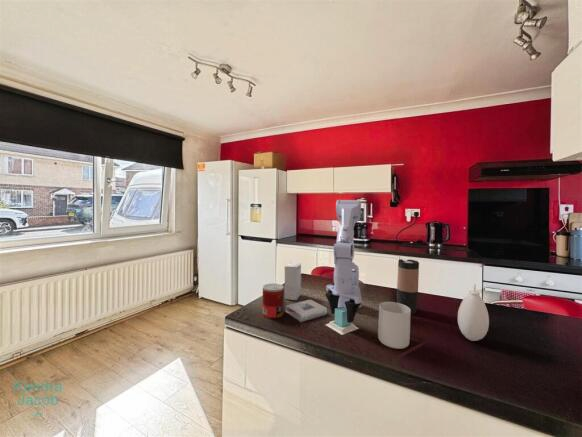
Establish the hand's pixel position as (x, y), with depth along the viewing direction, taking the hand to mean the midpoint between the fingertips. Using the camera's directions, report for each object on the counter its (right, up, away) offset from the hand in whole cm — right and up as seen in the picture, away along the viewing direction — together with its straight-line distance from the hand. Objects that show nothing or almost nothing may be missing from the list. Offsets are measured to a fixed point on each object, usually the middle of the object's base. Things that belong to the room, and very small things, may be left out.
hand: (342, 317), depth 85 cm
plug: (0, -3, 0) cm, 3 cm away
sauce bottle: (+40, -5, -6) cm, 41 cm away
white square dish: (0, -4, 0) cm, 4 cm away
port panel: (-12, -3, +11) cm, 16 cm away
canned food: (-24, -3, +10) cm, 26 cm away
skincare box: (-17, -2, +29) cm, 33 cm away
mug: (+14, -5, -7) cm, 17 cm away
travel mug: (+29, -4, +16) cm, 33 cm away
